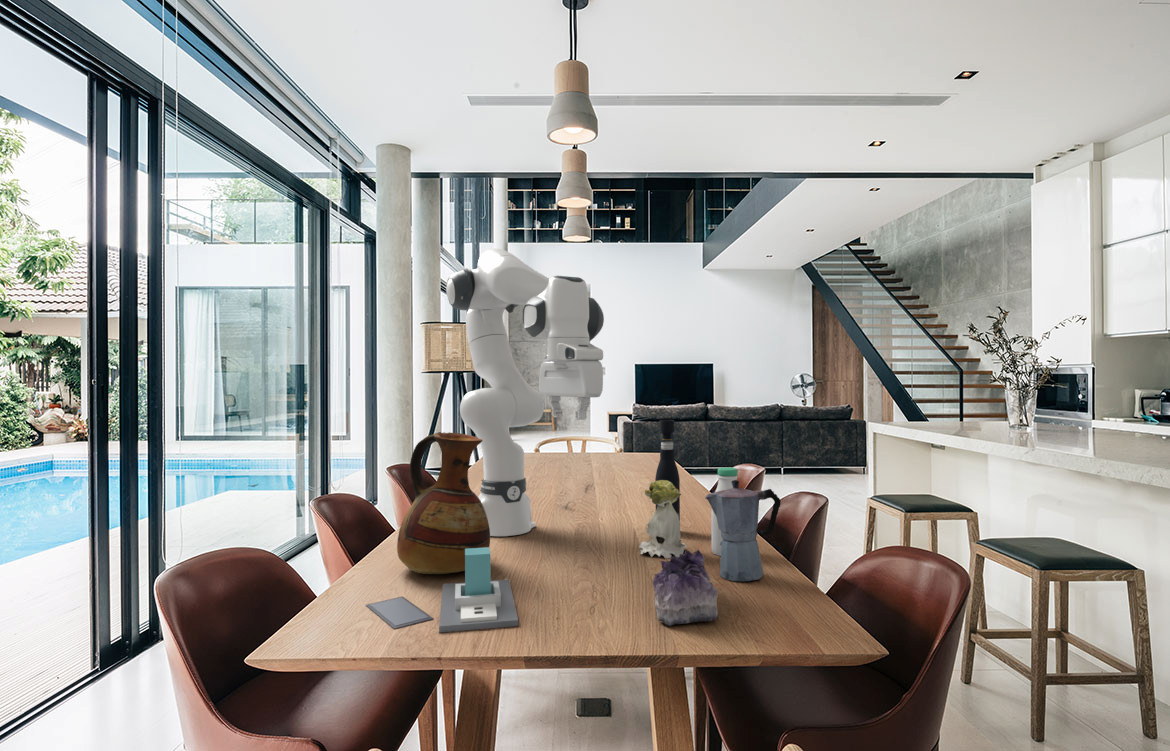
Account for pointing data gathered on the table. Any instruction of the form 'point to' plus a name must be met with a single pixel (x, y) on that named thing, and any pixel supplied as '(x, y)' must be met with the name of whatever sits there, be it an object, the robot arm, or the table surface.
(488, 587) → the teal box with slot
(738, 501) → the moka pot
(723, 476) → the milk bottle
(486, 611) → the grey socket base board
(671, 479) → the wine bottle
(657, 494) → the green-topped white figurine
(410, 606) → the phone
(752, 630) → the table surface
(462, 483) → the ceramic pitcher
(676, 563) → the geode
